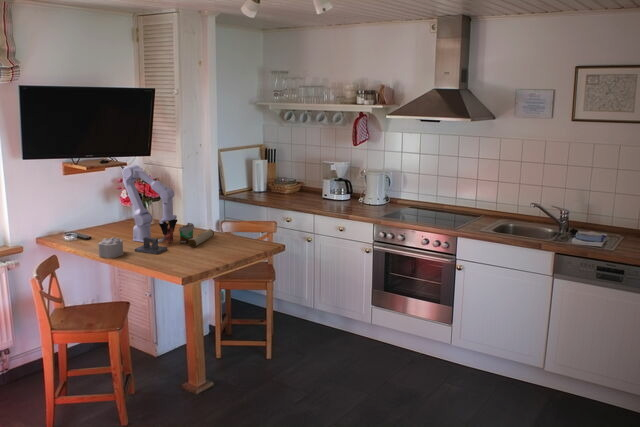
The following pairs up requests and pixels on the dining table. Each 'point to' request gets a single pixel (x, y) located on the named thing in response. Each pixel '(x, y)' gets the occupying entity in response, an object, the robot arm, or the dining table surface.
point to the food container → (186, 233)
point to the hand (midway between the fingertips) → (168, 233)
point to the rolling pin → (200, 238)
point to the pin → (167, 236)
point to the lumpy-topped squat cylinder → (110, 248)
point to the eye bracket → (150, 246)
